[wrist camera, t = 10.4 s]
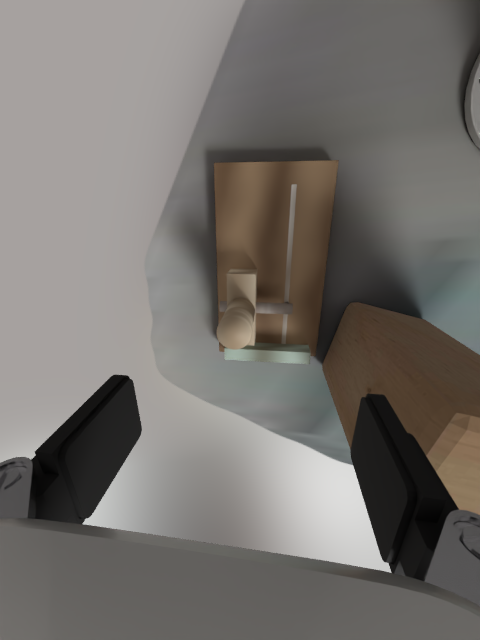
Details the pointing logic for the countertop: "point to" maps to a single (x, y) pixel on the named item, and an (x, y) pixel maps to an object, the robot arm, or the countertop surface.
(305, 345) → the walnut board
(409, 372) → the wooden block
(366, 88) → the countertop surface
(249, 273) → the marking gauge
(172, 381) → the countertop surface
